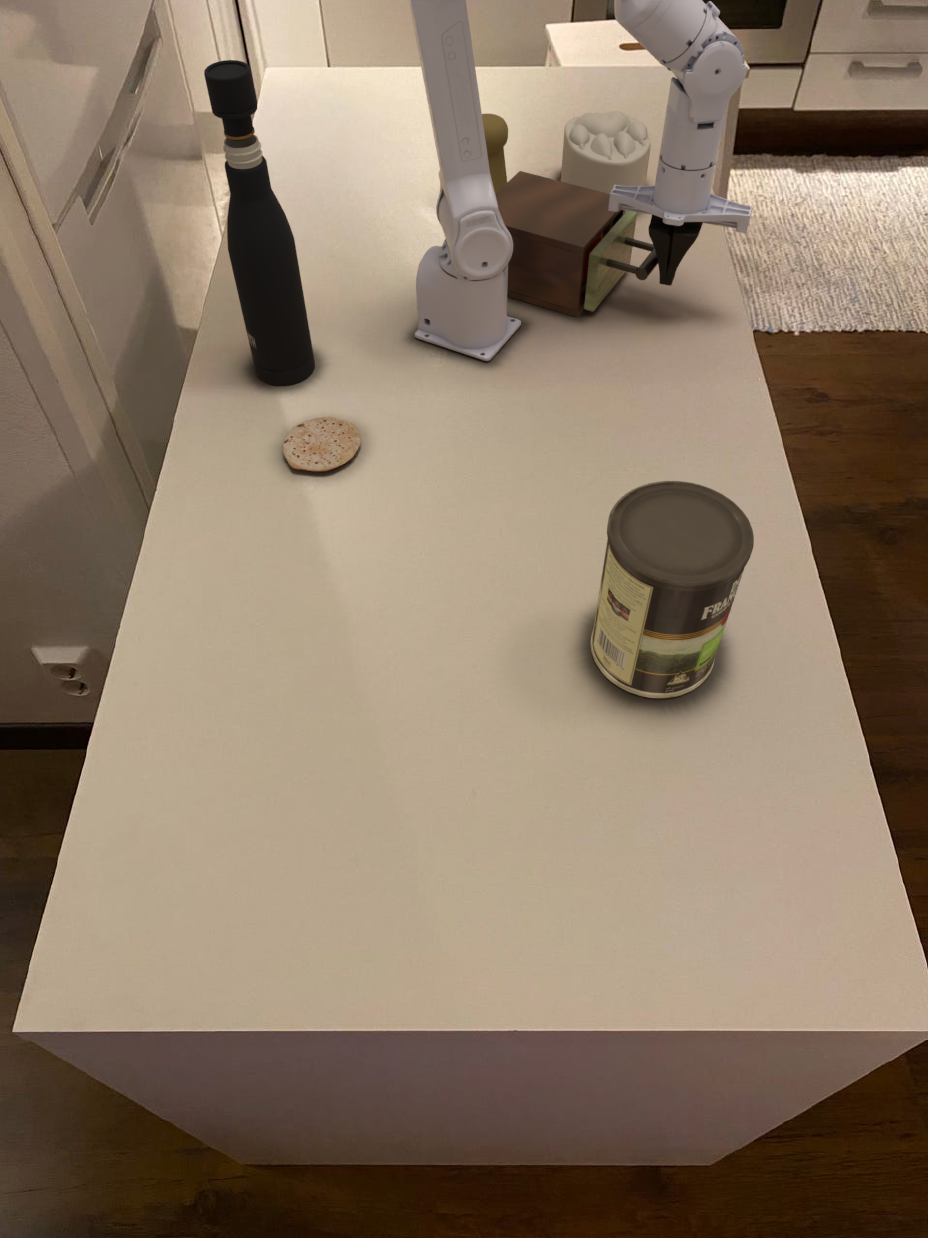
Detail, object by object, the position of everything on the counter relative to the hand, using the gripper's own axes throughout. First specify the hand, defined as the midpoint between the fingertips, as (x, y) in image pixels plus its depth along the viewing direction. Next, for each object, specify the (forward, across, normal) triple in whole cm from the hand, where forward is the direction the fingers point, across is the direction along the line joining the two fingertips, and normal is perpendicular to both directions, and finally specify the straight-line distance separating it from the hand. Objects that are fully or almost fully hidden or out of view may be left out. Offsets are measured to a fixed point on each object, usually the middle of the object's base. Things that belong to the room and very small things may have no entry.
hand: (666, 279), depth 105 cm
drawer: (+3, -10, +2) cm, 10 cm away
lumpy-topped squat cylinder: (+4, -13, +24) cm, 27 cm away
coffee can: (+4, +9, -47) cm, 48 cm away
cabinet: (+4, -14, +3) cm, 15 cm away
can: (+2, -11, +2) cm, 11 cm away
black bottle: (+4, -36, -23) cm, 43 cm away
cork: (+4, -26, +16) cm, 31 cm away
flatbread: (+4, -27, -34) cm, 43 cm away
